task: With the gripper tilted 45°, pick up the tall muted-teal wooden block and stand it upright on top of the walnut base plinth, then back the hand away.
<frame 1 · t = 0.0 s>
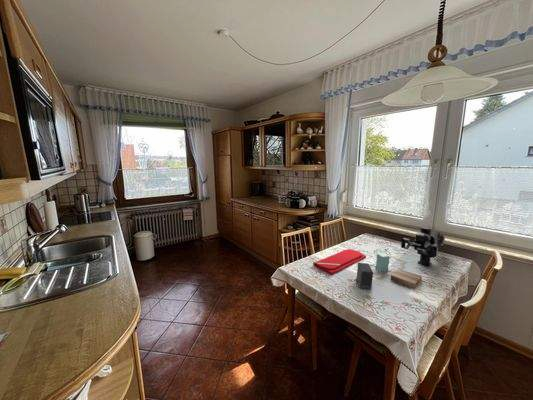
hand: (413, 250, 131), 17 cm above the table, tool horizontal, fingers open, 9 cm apart
teal block: (381, 269, 143), on the table
small box: (363, 284, 126), on the table
dish drying mat: (340, 262, 154), on the table
walnut base: (405, 280, 129), on the table
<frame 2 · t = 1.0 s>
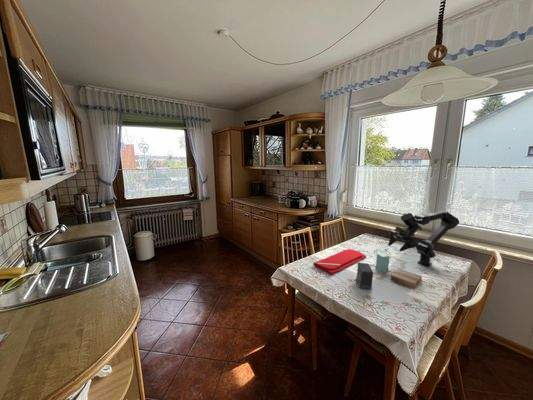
hand: (394, 248, 142), 14 cm above the table, tool tilted 45°, fingers open, 9 cm apart
nothing on the table moved.
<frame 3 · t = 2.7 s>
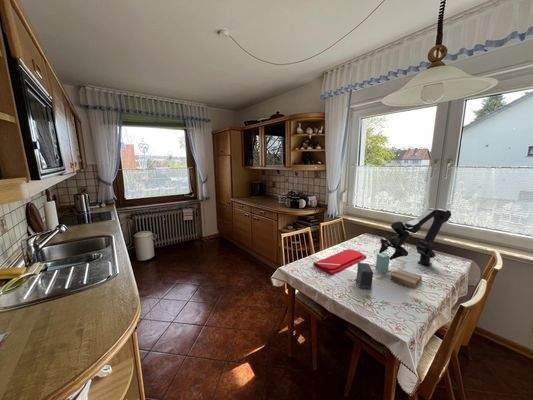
hand: (384, 256, 141), 9 cm above the table, tool tilted 45°, fingers open, 9 cm apart
nothing on the table moved.
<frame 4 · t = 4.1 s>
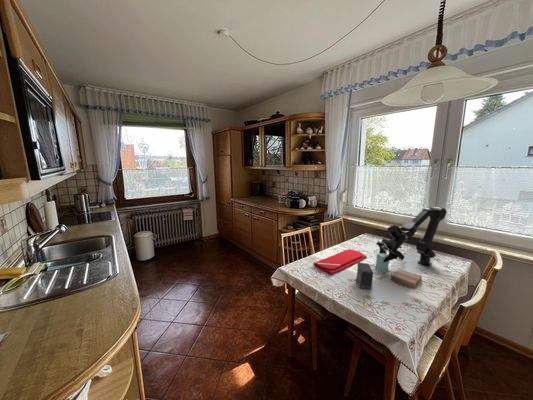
hand: (380, 259, 141), 7 cm above the table, tool tilted 45°, fingers closed on teal block, 5 cm apart
teal block: (381, 269, 143), on the table, touching gripper
everything else where it was.
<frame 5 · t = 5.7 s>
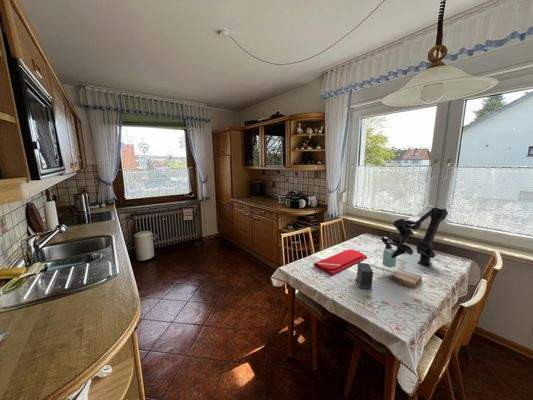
hand: (388, 255, 136), 12 cm above the table, tool tilted 45°, fingers closed on teal block, 5 cm apart
teal block: (388, 265, 137), point 5 cm above the table, touching gripper
everything else where it was.
when the fingers open (11 cm above the table, at t = 7.3 s): teal block drops 1 cm, resting on walnut base.
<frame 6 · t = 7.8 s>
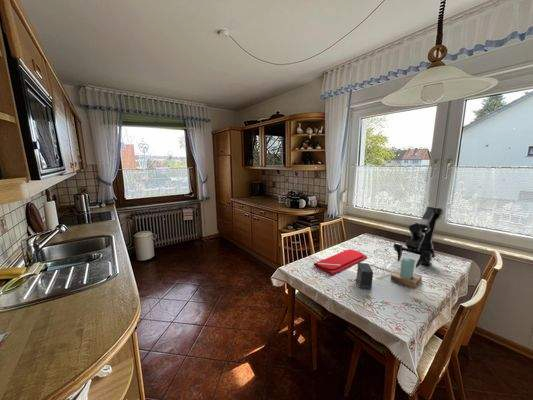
hand: (406, 264, 127), 11 cm above the table, tool tilted 45°, fingers open, 9 cm apart
teal block: (406, 275, 129), point 3 cm above the table, touching walnut base
everything else where it was.
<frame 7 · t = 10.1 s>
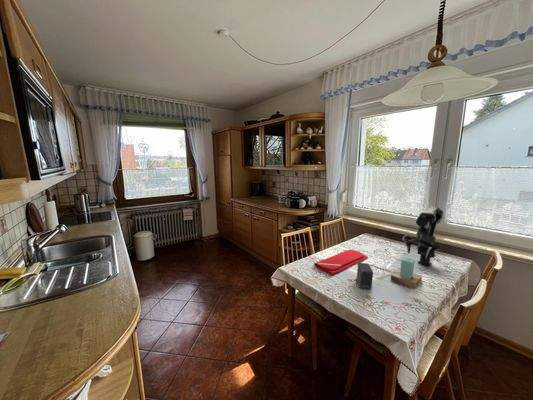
hand: (417, 256, 132), 13 cm above the table, tool tilted 30°, fingers open, 9 cm apart
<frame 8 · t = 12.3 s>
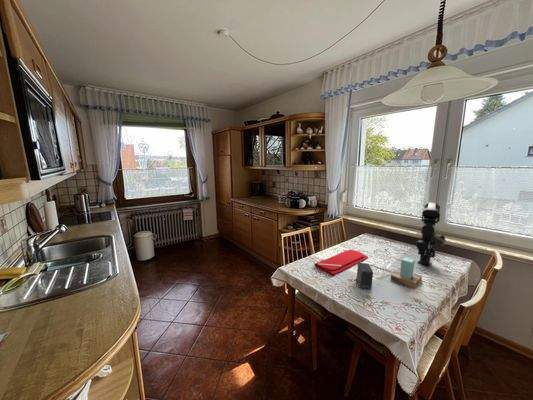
hand: (425, 254, 133), 13 cm above the table, tool pointing down, fingers open, 9 cm apart
at the end: teal block 0.0 cm off-centre on the walnut base, point 3.0 cm above the walnut base's base; teal block tilted 0°; the gripper is holding nothing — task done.
